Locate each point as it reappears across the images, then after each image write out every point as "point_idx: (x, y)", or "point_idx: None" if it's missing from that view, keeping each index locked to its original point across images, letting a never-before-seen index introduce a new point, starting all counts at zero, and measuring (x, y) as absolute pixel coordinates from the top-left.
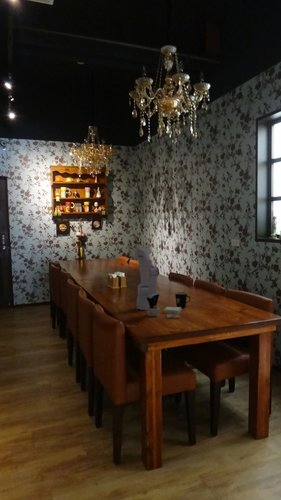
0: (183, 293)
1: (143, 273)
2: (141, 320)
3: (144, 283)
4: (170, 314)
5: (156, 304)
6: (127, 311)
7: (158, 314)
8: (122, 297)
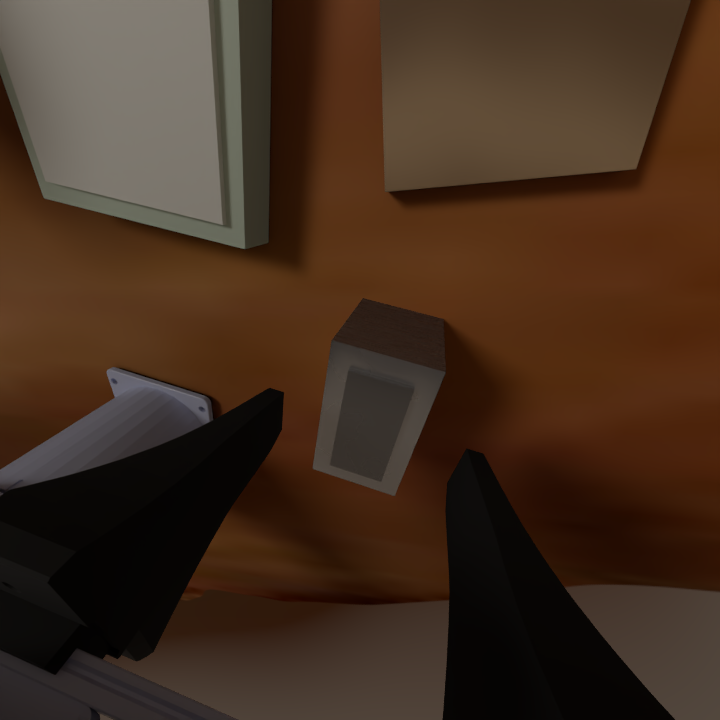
0: None
1: None
2: (603, 488)
3: None
4: (418, 95)
5: (272, 404)
6: (283, 527)
7: (411, 317)
8: None
